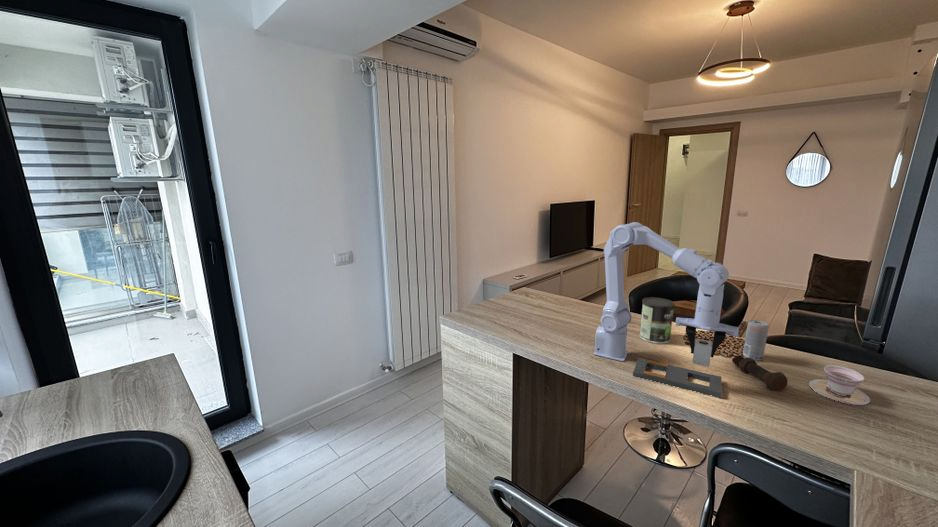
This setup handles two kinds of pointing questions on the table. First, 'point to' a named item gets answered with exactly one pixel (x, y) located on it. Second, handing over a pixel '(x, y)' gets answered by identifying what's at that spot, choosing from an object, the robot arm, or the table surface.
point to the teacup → (842, 382)
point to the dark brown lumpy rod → (761, 373)
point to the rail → (679, 377)
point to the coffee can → (656, 320)
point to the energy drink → (755, 339)
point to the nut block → (702, 352)
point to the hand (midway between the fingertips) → (701, 353)
